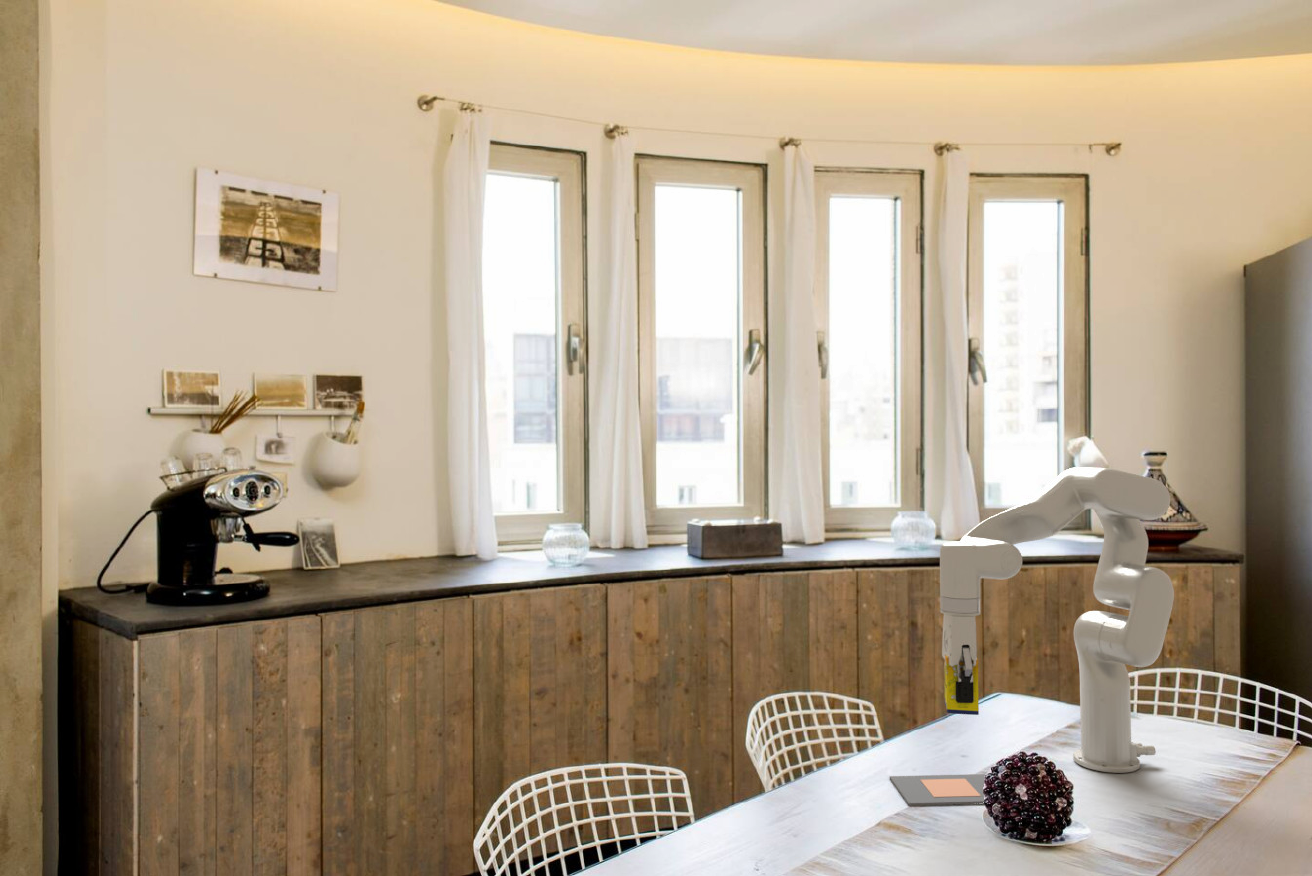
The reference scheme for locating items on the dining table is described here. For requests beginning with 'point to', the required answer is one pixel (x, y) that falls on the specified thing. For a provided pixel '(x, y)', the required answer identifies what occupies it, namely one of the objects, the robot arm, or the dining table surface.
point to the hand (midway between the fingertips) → (960, 696)
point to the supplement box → (950, 690)
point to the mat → (940, 789)
